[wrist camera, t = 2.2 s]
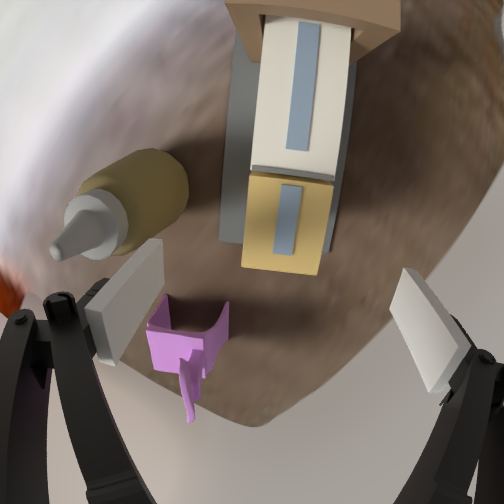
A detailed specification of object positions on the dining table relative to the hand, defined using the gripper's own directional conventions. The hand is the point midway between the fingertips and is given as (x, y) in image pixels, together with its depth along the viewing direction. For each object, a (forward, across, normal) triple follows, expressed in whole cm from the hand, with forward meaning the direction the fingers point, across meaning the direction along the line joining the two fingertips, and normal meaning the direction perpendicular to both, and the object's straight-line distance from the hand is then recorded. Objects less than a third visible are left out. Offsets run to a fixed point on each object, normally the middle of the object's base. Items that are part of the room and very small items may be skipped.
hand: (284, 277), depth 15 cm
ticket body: (+16, 0, +11) cm, 19 cm away
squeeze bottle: (+16, -12, +1) cm, 21 cm away
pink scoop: (+17, -9, -16) cm, 25 cm away
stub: (+16, 0, +1) cm, 16 cm away
